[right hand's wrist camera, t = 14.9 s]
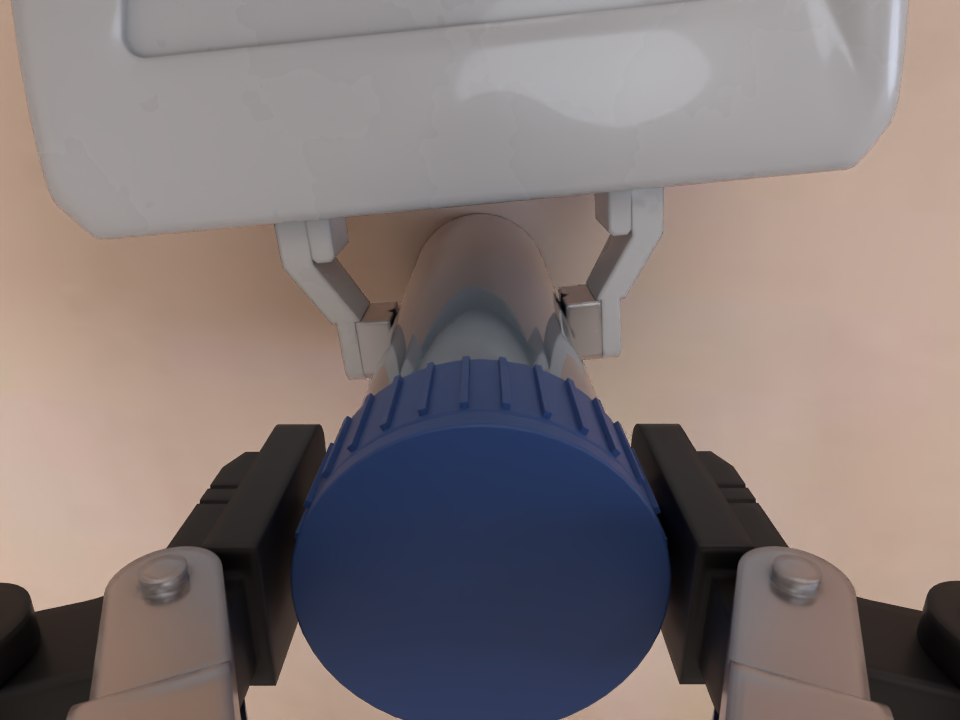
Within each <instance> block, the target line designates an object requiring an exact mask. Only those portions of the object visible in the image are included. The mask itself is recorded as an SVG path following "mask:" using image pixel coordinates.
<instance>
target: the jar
mask: <svg viewBox="0 0 960 720" xmlns="http://www.w3.org/2000/svg"><path fill="white" fill-rule="evenodd" d="M463 356H470V360H473V359H488V360H499V357H506V360H507V361H509V362H514V363H520V364H525V365H528V366H531V367H534V365H535V364H538V365H541V366H542V370H544V371H546V372H548V373H550V374H553V375H555V376H557V377H559V378H561V379H564V380H565V381H566V379H567V378H570V379H572V380H573V381H574V384H575V387H576V388H578V389H579V390H581V391H582V392H584V393H585V394H586V395H587V396H588V397H590V398H591V399H592V400H593V399H594V398H595V397H597V396H596V393H595V391H594V388H593V386H592V383H591V381H590V378H589V376H588V373H587V370H586V368H585V365H584V363H583V360H582V358H581V355H580V353H579V350H578V347H577V345H576V342H575V340H574V337H573V335H572V332H571V330H570V327H569V325H568V322H567V319H566V317H565V314H564V312H563V309H562V307H561V304H560V302H559V299H558V296H557V294H556V291H555V289H554V286H553V284H552V281H551V279H550V276H549V274H548V271H547V268H546V266H545V263H544V261H543V258H542V256H541V253H540V251H539V249H538V247H537V245H536V244H535V242H534V241H533V239H532V238H531V237H530V236H529V235H528V234H527V233H526V232H525V231H524V230H523V229H522V228H521V227H519V226H518V225H516V224H515V223H513V222H511V221H509V220H507V219H505V218H502V217H499V216H495V215H490V214H470V215H466V216H461V217H459V218H456V219H453V220H451V221H449V222H447V223H446V224H444V225H443V226H441V227H440V228H439V229H438V230H436V231H435V232H434V233H433V234H432V235H431V237H430V238H429V239H428V240H427V242H426V243H425V245H424V246H423V248H422V250H421V253H420V255H419V257H418V260H417V262H416V265H415V268H414V270H413V273H412V275H411V278H410V280H409V283H408V286H407V288H406V291H405V293H404V296H403V298H402V301H401V304H400V306H399V309H398V311H397V314H396V317H395V319H394V322H393V324H392V327H391V329H390V332H389V335H388V337H387V340H386V342H385V345H384V347H383V350H382V353H381V355H380V358H379V360H378V363H377V366H376V368H375V371H374V373H373V376H372V378H371V381H370V384H369V386H368V389H367V391H366V394H365V396H364V399H363V402H362V404H361V407H362V406H363V403H364V401H365V398H366V396H367V395H368V394H370V393H372V394H373V395H375V394H377V393H378V392H379V391H381V390H382V389H384V388H385V387H387V386H388V385H390V384H391V383H393V379H394V377H395V376H397V375H399V374H400V375H401V377H405V376H407V375H409V374H411V373H413V372H415V371H418V370H421V369H424V368H426V366H427V363H430V362H434V365H437V364H442V363H447V362H453V361H458V360H462V357H463ZM361 407H360V408H361Z"/></svg>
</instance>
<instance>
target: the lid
mask: <svg viewBox="0 0 960 720" xmlns="http://www.w3.org/2000/svg"><path fill="white" fill-rule="evenodd" d="M303 506H304V507H306V509H305V511H304V513H303V516H302V518H301V520H300V523H299V525H298V527H297V530H296V532H295V539H297V540H296V544H295V547H294V551H293V555H292V564H291V573H290V576H291V594H292V599H293V604H294V609H295V613H296V617H297V619H298V622H299V625H300V627H301V630H302V633H303V635H304V637H305V638H306V640H307V642H308V644H309V646H310V647H311V649H312V651H313V652H314V654H315V655H316V656H317V658H318V659H319V660H320V662H321V663H322V664H323V666H324V667H325V668H326V669H327V670H328V671H329V672H330V673H331V674H332V675H333V676H334V677H335V678H336V679H337V680H338V681H339V682H340V683H341V684H342V685H343V686H345V687H346V688H347V689H348V690H350V691H351V692H352V693H353V694H355V695H356V696H357V697H359V698H361V699H362V700H364V701H365V702H367V703H369V704H370V705H372V706H374V707H375V708H377V709H379V710H381V711H384V712H386V713H388V714H390V715H392V716H394V717H397V718H400V719H402V720H559V719H562V718H565V717H567V716H570V715H572V714H574V713H576V712H578V711H580V710H582V709H584V708H586V707H588V706H590V705H591V704H593V703H595V702H596V701H598V700H599V699H601V698H603V697H604V696H606V695H607V694H608V693H610V692H611V691H612V690H613V689H615V688H616V687H617V686H618V685H619V684H621V683H622V682H623V681H624V680H625V679H626V678H627V677H628V676H629V675H630V674H631V673H632V672H633V671H634V670H635V669H636V668H637V667H638V665H639V664H640V663H641V661H642V660H643V659H644V657H645V656H646V654H647V653H648V652H649V650H650V649H651V647H652V645H653V643H654V641H655V639H656V638H657V636H658V634H659V632H660V629H661V626H662V624H663V621H664V618H665V616H666V612H667V607H668V602H669V597H670V592H671V566H670V558H669V551H668V548H667V545H668V540H667V537H666V535H665V532H664V530H663V528H662V525H661V523H660V521H659V518H658V516H657V514H658V513H661V511H660V508H659V506H658V503H657V501H656V499H655V497H654V494H653V492H652V490H651V488H650V485H649V483H648V481H647V478H646V476H645V474H644V472H643V469H642V467H641V465H640V462H639V460H638V458H637V456H636V453H635V451H634V449H633V448H632V449H631V447H630V445H629V442H628V440H627V438H626V436H625V433H624V431H623V429H622V426H621V425H620V423H619V422H618V421H617V422H615V423H613V422H612V420H611V419H610V418H609V416H608V415H607V414H606V413H605V411H604V409H603V406H602V404H601V401H600V400H599V399H598V398H597V397H595V398H594V399H593V400H592V399H591V398H590V397H588V396H587V395H586V394H585V393H584V392H582V391H581V390H579V389H578V388H576V387H575V384H574V381H573V380H572V379H570V378H567V379H566V381H565V380H564V379H561V378H559V377H557V376H555V375H553V374H550V373H548V372H546V371H544V370H542V366H541V365H538V364H535V365H534V367H531V366H528V365H525V364H520V363H514V362H509V361H507V360H506V357H499V360H488V359H473V360H470V356H463V357H462V360H458V361H453V362H447V363H442V364H437V365H434V362H430V363H427V366H426V368H424V369H421V370H418V371H415V372H413V373H411V374H409V375H407V376H405V377H401V375H400V374H399V375H397V376H395V377H394V379H393V383H391V384H390V385H388V386H387V387H385V388H384V389H382V390H381V391H379V392H378V393H377V394H375V395H373V394H372V393H370V394H368V395H367V396H366V398H365V401H364V403H363V406H362V407H361V408H360V409H359V410H358V411H357V413H356V414H355V415H354V416H353V417H352V418H350V417H348V416H347V417H346V418H345V419H344V421H343V424H342V426H341V428H340V431H339V433H338V435H337V438H336V440H335V442H334V444H333V443H330V445H329V447H328V450H327V452H326V454H325V457H324V459H323V461H322V464H321V466H320V468H319V470H318V473H317V475H316V477H315V480H314V482H313V484H312V487H311V489H310V491H309V494H308V496H307V498H306V500H305V503H304V505H303Z"/></svg>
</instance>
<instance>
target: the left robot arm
mask: <svg viewBox="0 0 960 720" xmlns="http://www.w3.org/2000/svg"><path fill="white" fill-rule="evenodd" d="M908 4H909V0H11V6H12V14H13V21H14V28H15V35H16V42H17V49H18V55H19V62H20V68H21V74H22V79H23V84H24V89H25V94H26V100H27V105H28V110H29V115H30V119H31V124H32V128H33V133H34V137H35V142H36V146H37V150H38V154H39V158H40V162H41V166H42V170H43V174H44V177H45V180H46V183H47V186H48V190H49V192H50V194H51V197H52V199H53V201H54V202H55V203H56V205H57V206H58V207H59V208H60V209H61V210H63V211H64V212H65V213H66V214H67V215H68V216H69V217H70V218H71V219H72V220H74V221H75V222H76V223H77V224H78V225H79V226H80V227H81V228H83V229H84V230H85V231H86V232H88V233H89V234H90V235H91V236H93V237H95V238H97V239H102V240H108V239H120V238H131V237H141V236H152V235H162V234H173V233H183V232H194V231H205V230H215V229H226V228H236V227H247V226H257V225H268V224H274V227H275V232H276V237H277V242H278V247H279V252H280V257H281V261H282V266H283V268H284V269H285V271H286V272H287V273H288V274H289V275H290V276H291V278H292V279H293V280H294V281H295V282H296V283H297V284H298V286H299V287H300V288H301V289H302V290H303V291H304V293H305V294H306V295H307V296H308V297H309V298H310V299H311V301H312V302H313V303H314V304H315V305H316V306H317V308H318V309H319V310H320V311H321V312H322V313H323V314H324V316H325V317H326V318H327V319H328V320H329V321H330V323H331V324H337V329H338V334H339V340H340V345H341V351H342V356H343V362H344V367H345V373H346V375H347V377H348V379H349V380H356V379H366V378H372V376H373V373H374V371H375V368H376V366H377V363H378V360H379V358H380V355H381V353H382V350H383V347H384V345H385V342H386V340H387V337H388V335H389V332H390V329H391V327H392V324H393V322H394V319H395V317H396V314H397V311H398V303H397V302H389V303H374V304H369V303H370V302H369V300H368V299H367V298H366V296H365V295H364V294H363V292H362V291H361V290H360V288H359V287H358V286H357V284H356V283H355V282H354V281H353V279H352V278H351V277H350V275H349V274H348V273H347V271H346V270H345V269H344V267H343V266H342V265H341V263H340V262H339V261H338V259H337V258H336V256H337V255H338V254H339V252H340V251H341V250H342V249H343V248H344V247H345V246H346V245H347V243H348V242H349V239H348V232H347V225H346V219H345V217H352V216H363V215H374V214H384V213H395V212H405V211H416V210H426V209H437V208H448V207H458V206H469V205H479V204H490V203H500V202H511V201H521V200H532V199H543V198H553V197H564V196H574V195H585V194H595V213H596V219H597V220H598V221H599V222H600V224H601V225H602V226H603V227H604V228H605V229H606V230H607V231H608V232H609V233H610V236H609V238H608V240H607V242H606V244H605V246H604V248H603V250H602V252H601V254H600V256H599V258H598V260H597V262H596V264H595V266H594V268H593V270H592V272H591V274H590V276H589V278H588V280H587V281H586V283H587V284H584V285H575V286H567V287H559V302H560V304H561V307H562V309H563V312H564V314H565V317H566V319H567V322H568V325H569V327H570V330H571V332H572V335H573V337H574V340H575V342H576V345H577V347H578V350H579V353H580V355H581V358H582V360H586V359H599V358H610V357H619V355H620V350H621V324H620V299H622V298H625V297H626V295H627V293H628V292H629V290H630V288H631V287H632V285H633V283H634V281H635V280H636V278H637V276H638V275H639V273H640V271H641V269H642V268H643V266H644V264H645V263H646V261H647V259H648V257H649V256H650V254H651V252H652V251H653V249H654V247H655V245H656V244H657V242H658V240H659V239H660V237H661V235H662V234H663V187H669V186H680V185H691V184H701V183H712V182H722V181H733V180H743V179H754V178H764V177H775V176H786V175H796V174H807V173H817V172H827V171H837V170H846V169H849V168H852V167H854V166H855V165H857V164H858V163H859V162H860V161H861V159H862V158H863V157H864V156H865V155H866V154H867V153H868V152H869V150H870V149H871V148H872V147H873V145H874V144H875V143H876V141H877V140H878V139H879V138H880V136H881V135H882V134H883V132H884V131H885V130H886V128H887V127H888V126H889V124H890V123H891V121H892V119H893V117H894V114H895V110H896V107H897V103H898V99H899V92H900V86H901V79H902V71H903V62H904V52H905V42H906V31H907V18H908Z"/></svg>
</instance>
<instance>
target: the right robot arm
mask: <svg viewBox="0 0 960 720" xmlns="http://www.w3.org/2000/svg"><path fill="white" fill-rule="evenodd" d="M632 448H633V449H634V451H635V453H636V456H637V458H638V460H639V462H640V465H641V467H642V469H643V472H644V474H645V476H646V478H647V481H648V483H649V485H650V488H651V490H652V492H653V494H654V497H655V499H656V501H657V503H658V506H659V508H660V511H661V513H658V514H657V516H658V518H659V521H660V523H661V525H662V528H663V530H664V532H665V535H666V537H667V540H668V545H667V548H668V551H669V558H670V566H671V592H670V597H669V602H668V607H667V612H666V616H665V618H664V621H663V624H662V626H661V631H662V634H663V637H664V640H665V643H666V646H667V649H668V652H669V654H670V657H671V660H672V663H673V666H674V669H675V672H676V675H677V678H678V681H679V684H706V687H707V689H708V692H709V695H710V697H711V700H712V702H713V705H714V710H713V716H712V720H960V581H947V582H943V583H939V584H937V585H935V586H933V587H932V588H931V589H930V590H929V592H928V594H927V597H926V601H925V604H924V607H923V611H919V610H914V609H909V608H905V607H900V606H895V605H891V604H886V603H881V602H876V601H872V600H867V599H863V598H859V597H856V593H855V589H854V587H853V585H852V583H851V581H850V580H849V579H848V578H847V577H846V575H845V574H843V573H842V572H841V571H840V570H839V569H838V568H836V567H835V566H834V565H832V564H831V563H829V562H827V561H826V560H824V559H822V558H820V557H818V556H815V555H813V554H810V553H808V552H805V551H801V550H798V549H794V548H789V547H788V546H787V544H786V543H785V541H784V540H783V538H782V537H781V535H780V534H779V532H778V531H777V530H776V528H775V527H774V525H773V524H772V522H771V521H770V519H769V518H768V516H767V515H766V514H765V512H764V511H763V509H762V508H761V506H760V505H759V503H756V499H755V498H754V496H753V495H752V493H751V492H750V490H749V489H748V488H746V487H745V483H744V482H743V480H742V479H741V477H740V476H739V474H738V473H737V471H736V470H735V468H734V467H733V466H732V465H730V464H729V463H727V462H726V461H724V460H723V459H721V458H720V457H718V456H717V455H715V454H714V453H712V452H711V451H696V450H695V448H694V446H693V445H692V443H691V442H690V440H689V438H688V437H687V435H686V433H685V432H684V430H683V429H682V427H681V426H680V425H679V424H636V425H635V427H634V430H633V434H632V443H631V449H632ZM325 454H326V448H325V438H324V432H323V429H322V426H321V425H320V424H279V425H276V427H275V428H274V430H273V431H272V433H271V434H270V436H269V438H268V439H267V441H266V442H265V444H264V446H263V447H262V449H261V450H260V452H245V453H243V454H242V455H240V456H239V457H237V458H236V459H234V460H233V461H231V462H230V463H228V464H227V465H225V466H224V467H223V468H222V469H221V471H220V472H219V473H218V475H217V476H216V478H215V479H214V481H213V482H212V484H211V485H210V489H207V491H206V492H205V494H204V495H203V496H202V498H201V499H200V504H197V505H196V506H195V508H194V509H193V511H192V512H191V514H190V515H189V517H188V518H187V519H186V521H185V522H184V524H183V525H182V527H181V528H180V529H179V531H178V532H177V534H176V535H175V537H174V538H173V539H172V541H171V542H170V544H169V545H168V547H167V548H166V549H162V550H159V551H155V552H152V553H150V554H147V555H145V556H142V557H140V558H138V559H136V560H134V561H133V562H131V563H129V564H128V565H126V566H125V567H124V568H122V569H121V570H120V571H119V572H118V573H117V574H115V575H114V577H113V578H112V579H111V580H110V581H109V583H108V585H107V587H106V589H105V593H104V596H102V597H99V598H96V599H92V600H88V601H84V602H80V603H75V604H70V605H65V606H61V607H56V608H51V609H46V610H42V611H37V612H35V611H34V608H33V604H32V601H31V598H30V595H29V593H28V592H27V591H26V590H25V589H24V588H22V587H20V586H18V585H15V584H10V583H0V720H248V716H247V710H246V704H245V699H244V698H245V696H246V693H247V691H248V688H249V686H276V683H277V680H278V678H279V675H280V672H281V669H282V666H283V663H284V660H285V657H286V655H287V652H288V649H289V646H290V643H291V640H292V637H293V634H294V632H295V629H296V626H297V623H298V619H297V617H296V613H295V609H294V604H293V599H292V594H291V576H290V573H291V564H292V555H293V551H294V547H295V544H296V540H297V539H295V532H296V530H297V527H298V525H299V523H300V520H301V518H302V516H303V513H304V511H305V509H306V507H304V506H303V505H304V503H305V500H306V498H307V496H308V494H309V491H310V489H311V487H312V484H313V482H314V480H315V477H316V475H317V473H318V470H319V468H320V466H321V464H322V461H323V459H324V457H325Z"/></svg>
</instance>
